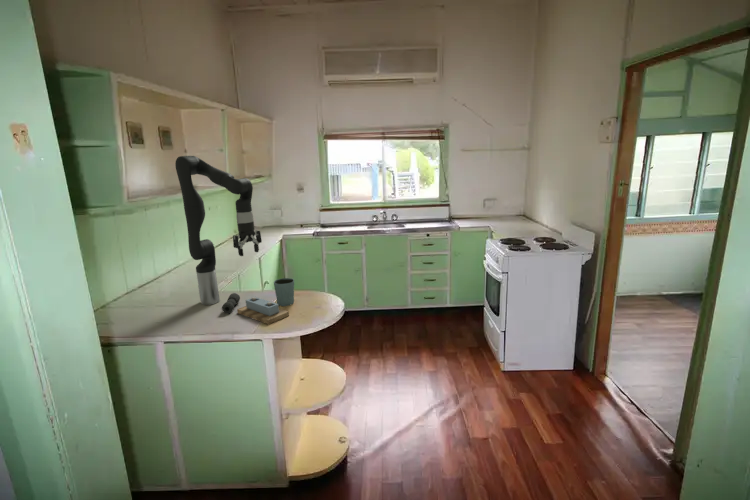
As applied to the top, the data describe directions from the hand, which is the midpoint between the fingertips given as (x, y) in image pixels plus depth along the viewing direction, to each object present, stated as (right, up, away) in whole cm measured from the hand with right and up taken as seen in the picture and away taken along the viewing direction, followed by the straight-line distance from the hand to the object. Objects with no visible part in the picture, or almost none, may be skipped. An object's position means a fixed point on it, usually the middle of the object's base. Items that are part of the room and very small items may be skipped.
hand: (249, 254), depth 198 cm
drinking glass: (+15, -26, +12) cm, 32 cm away
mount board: (+7, -29, -1) cm, 30 cm away
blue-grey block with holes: (+7, -27, -2) cm, 28 cm away
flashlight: (-11, -28, +9) cm, 31 cm away
